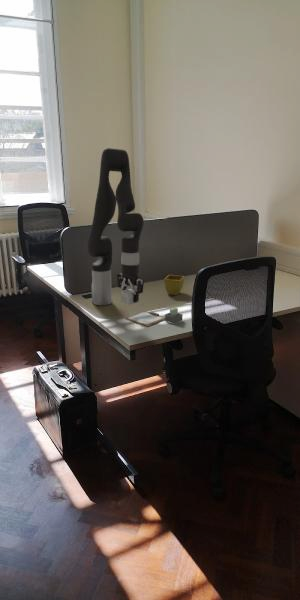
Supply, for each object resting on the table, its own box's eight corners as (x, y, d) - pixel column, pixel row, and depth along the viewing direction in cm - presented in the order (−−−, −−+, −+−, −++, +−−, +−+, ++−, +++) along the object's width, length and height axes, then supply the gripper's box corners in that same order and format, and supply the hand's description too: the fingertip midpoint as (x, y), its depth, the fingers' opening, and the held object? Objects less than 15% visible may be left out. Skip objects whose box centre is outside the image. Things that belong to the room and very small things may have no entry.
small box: (139, 302, 184) (139, 291, 182) (127, 305, 181) (127, 294, 179) (131, 298, 188) (131, 287, 187) (120, 301, 185) (120, 290, 183)
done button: (168, 317, 194) (168, 309, 192) (173, 315, 196) (173, 307, 195) (174, 319, 191) (174, 311, 190) (179, 317, 194) (179, 309, 193)
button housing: (164, 320, 194) (164, 314, 193) (172, 317, 198) (172, 311, 197) (174, 323, 191) (174, 317, 190) (182, 320, 194) (182, 314, 193)
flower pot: (179, 296, 226) (180, 280, 223) (163, 295, 229) (164, 278, 226) (183, 292, 234) (184, 276, 231) (168, 290, 236) (168, 274, 234)
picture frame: (124, 318, 196) (124, 316, 195) (144, 311, 205) (144, 309, 205) (147, 327, 187) (147, 324, 187) (166, 318, 196) (166, 316, 196)
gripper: (111, 260, 180) (112, 298, 186) (136, 267, 171) (135, 306, 177) (124, 257, 186) (124, 294, 191) (149, 263, 177) (148, 302, 182)
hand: (129, 299), depth 184 cm, fingers closed on small box, 6 cm apart
